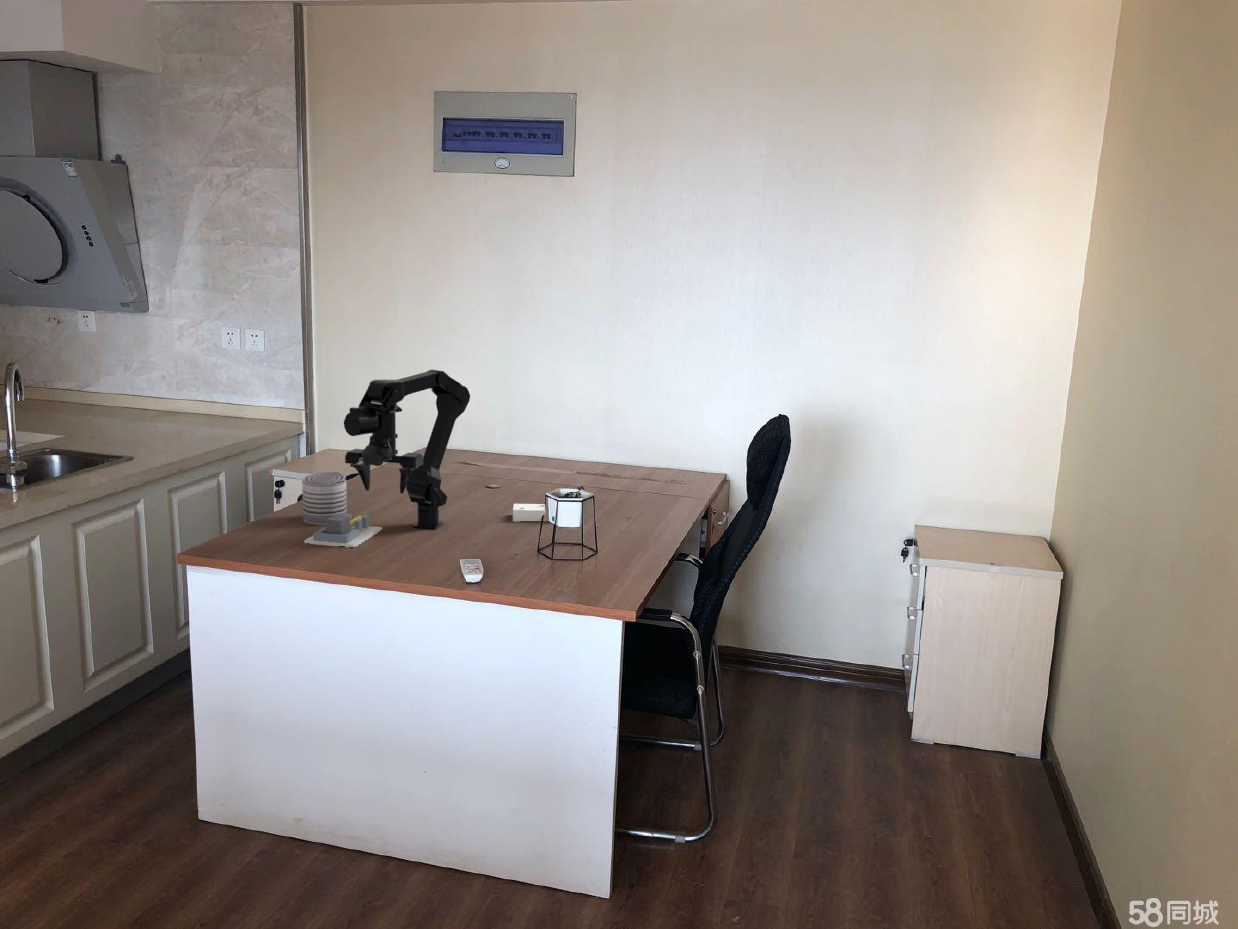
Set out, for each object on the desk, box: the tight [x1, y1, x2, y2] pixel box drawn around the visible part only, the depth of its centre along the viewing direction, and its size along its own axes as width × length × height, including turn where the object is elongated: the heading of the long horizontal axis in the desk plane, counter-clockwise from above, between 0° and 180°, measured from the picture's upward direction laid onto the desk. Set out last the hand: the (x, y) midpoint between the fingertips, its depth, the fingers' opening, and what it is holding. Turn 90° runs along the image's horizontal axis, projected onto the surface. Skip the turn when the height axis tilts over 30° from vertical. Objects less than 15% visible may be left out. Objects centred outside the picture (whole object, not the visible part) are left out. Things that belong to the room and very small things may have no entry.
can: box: [301, 471, 348, 526], centre depth 263 cm, size 11×11×12 cm
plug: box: [325, 515, 363, 535], centre depth 250 cm, size 16×4×5 cm, turn 170°
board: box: [304, 513, 383, 548], centre depth 249 cm, size 17×13×4 cm
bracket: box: [512, 503, 546, 522], centre depth 274 cm, size 13×7×8 cm, turn 94°
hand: (384, 491), depth 248 cm, fingers open, 9 cm apart
